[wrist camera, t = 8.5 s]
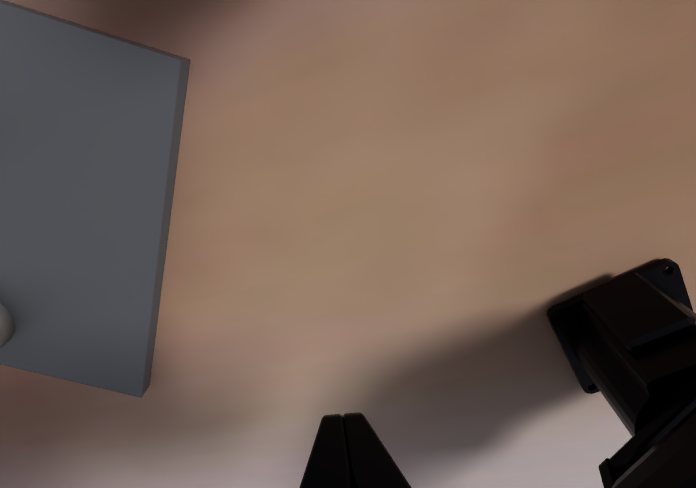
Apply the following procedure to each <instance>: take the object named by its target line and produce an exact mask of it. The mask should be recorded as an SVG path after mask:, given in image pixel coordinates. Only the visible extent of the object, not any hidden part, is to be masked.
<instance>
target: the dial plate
mask: <svg viewBox="0 0 696 488" xmlns="http://www.w3.org/2000/svg"><path fill="white" fill-rule="evenodd" d="M189 65H190V60H189V59H186V58H183V57H180V56H177V55H173V54H170V53H167V52H164V51H161V50H158V49H155V48H151V47H148V46H145V45H142V44H139V43H136V42H133V41H129V40H126V39H123V38H120V37H117V36H114V35H111V34H107V33H104V32H101V31H98V30H95V29H92V28H88V27H85V26H82V25H79V24H76V23H73V22H70V21H66V20H63V19H60V18H57V17H54V16H51V15H48V14H44V13H41V12H38V11H35V10H32V9H29V8H26V7H22V6H19V5H16V4H13V3H10V2H7V1H3V0H0V303H1V304H2V305H3V306H4V307H5V308H6V309H7V310H8V311H9V313H10V314H11V316H12V318H13V320H14V324H15V332H14V335H13V337H12V339H11V340H10V341H9V342H7V343H6V344H5V345H4V346H2V347H1V348H0V364H1V365H6V366H10V367H14V368H18V369H23V370H27V371H31V372H35V373H40V374H44V375H48V376H52V377H57V378H61V379H65V380H69V381H73V382H78V383H82V384H86V385H90V386H95V387H99V388H103V389H107V390H112V391H116V392H120V393H124V394H128V395H133V396H137V397H142V396H143V394H144V393H145V391H146V390H147V388H148V386H149V383H150V375H151V367H152V359H153V351H154V343H155V335H156V327H157V320H158V312H159V304H160V296H161V288H162V280H163V272H164V264H165V256H166V248H167V240H168V232H169V224H170V216H171V208H172V200H173V192H174V184H175V176H176V168H177V160H178V152H179V144H180V136H181V128H182V120H183V112H184V104H185V96H186V88H187V81H188V73H189Z"/></svg>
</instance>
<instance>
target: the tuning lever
mask: <svg viewBox="0 0 696 488" xmlns="http://www.w3.org/2000/svg"><path fill="white" fill-rule="evenodd" d="M14 332H15V324H14V320H13V318H12V316H11V314H10V313H9V311H8V310H7V309H6V308H5V307H4V306H3V305H2V304H1V303H0V348H1V347H2V346H4V345H5V344H6V343H7V342H9V341H10V340H11V339H12V337H13V335H14Z"/></svg>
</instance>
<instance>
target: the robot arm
mask: <svg viewBox="0 0 696 488" xmlns="http://www.w3.org/2000/svg"><path fill="white" fill-rule="evenodd" d="M666 267H668V269H667V270H665V271H663V270H664V269H665V268H666ZM557 314H560V316H558V317H555V316H556V315H557ZM546 315H547V318H548V320H549V322H550V324H551V326H552V328H553V330H554V333H555V335H556V337H557V339H558V341H559V343H560V345H561V347H562V349H563V351H564V353H565V355H566V357H567V359H568V361H569V363H570V365H571V367H572V369H573V371H574V373H575V375H576V378H577V380H578V382H579V384H580V386H581V387H582V389H583V390H584V391H585V392H586V393H588V394H592V393H596V392H599V391H600V392H601V393H602V394H603V396H604V397H605V399H606V400H607V401H608V403H609V404H610V406H611V407H612V409H613V410H614V411H615V413H616V414H617V416H618V417H619V418H620V420H621V421H622V423H623V424H624V426H625V427H626V428H627V430H628V431H629V433H630V434H631V435H632V438H631V439H630V440H629V441H628V442H627V443H626V444H625V445H624V446H623V447H622V448H621V449H620V450H618V451H617V452H616V453H615V454H614V455H613V456H612V457H611V458H610V459H608V458H607V459H605V460H604V461H603V462H602V463H601V464H600V465H599V471H600V475H601V478H602V482H603V486H604V488H696V314H695V313H694V312H693V309H692V306H691V303H690V299H689V296H688V293H687V290H686V287H685V284H684V281H683V277H682V274H681V271H680V268H679V266H678V264H677V263H675V262H674V261H672V260H670V259H666V258H664V259H661V260H658V261H656V262H654V263H651V264H649V265H647V266H645V267H642V268H640V269H638V270H635V271H633V272H631V273H629V274H626V275H624V276H622V277H619V278H617V279H615V280H612V281H610V282H608V283H606V284H603V285H601V286H599V287H596V288H594V289H592V290H590V291H587V292H585V293H583V294H580V295H578V296H576V297H573V298H571V299H569V300H567V301H564V302H562V303H560V304H557V305H555V306H553V307H551V308H550V309H549V310H548V311H547V314H546ZM590 384H591V385H590ZM300 488H411V486H410V485H409V483H408V482H407V480H406V479H405V477H404V476H403V474H402V473H401V471H400V470H399V468H398V467H397V465H396V464H395V462H394V461H393V459H392V457H391V456H390V454H389V453H388V451H387V450H386V448H385V447H384V445H383V444H382V442H381V441H380V439H379V438H378V436H377V435H376V433H375V432H374V430H373V428H372V427H371V425H370V424H369V422H368V421H367V419H366V418H365V416H364V415H363V414H362V413H346V414H344V415H343V417H342V415H340V414H334V415H325V416H323V418H322V420H321V423H320V426H319V429H318V432H317V435H316V438H315V442H314V445H313V448H312V451H311V454H310V457H309V460H308V463H307V466H306V470H305V473H304V476H303V479H302V482H301V485H300Z"/></svg>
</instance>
